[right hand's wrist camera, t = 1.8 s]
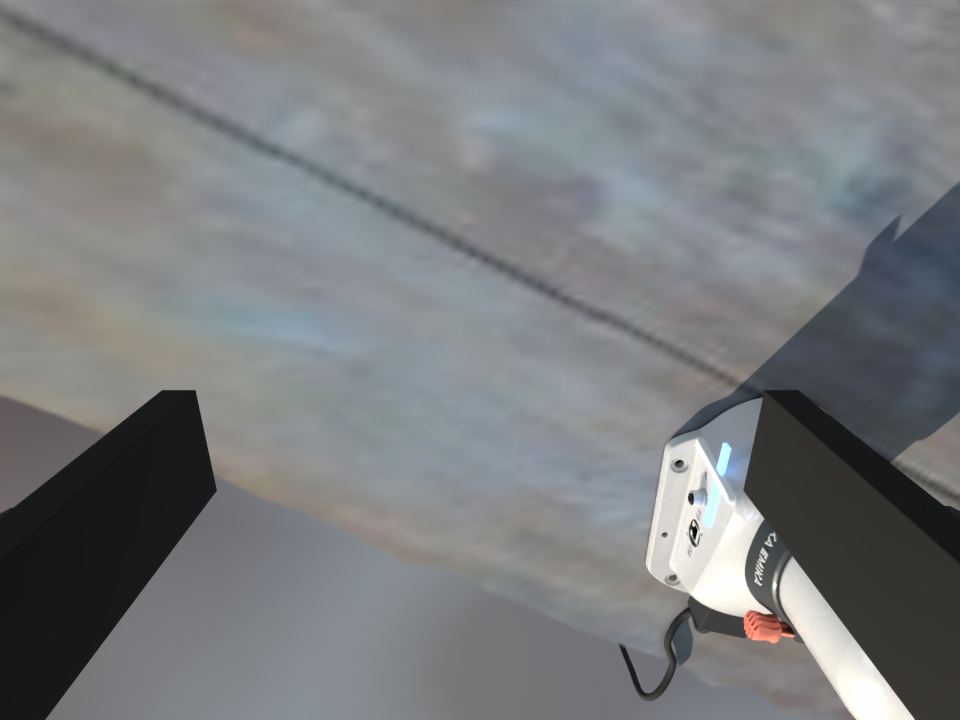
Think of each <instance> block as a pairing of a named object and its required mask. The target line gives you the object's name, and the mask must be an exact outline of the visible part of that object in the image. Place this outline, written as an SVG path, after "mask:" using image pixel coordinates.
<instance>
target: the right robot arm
mask: <svg viewBox="0 0 960 720" xmlns="http://www.w3.org/2000/svg"><path fill="white" fill-rule="evenodd" d="M216 491H217V489H216V485H215V480H214V475H213V470H212V466H211V461H210V456H209V452H208V447H207V442H206V438H205V433H204V428H203V424H202V419H201V414H200V410H199V405H198V400H197V395H196V391H195V390H162V391H161V392H159V393H158V394H157V395H156V396H154V397H153V398H152V399H150V400H149V401H148V402H147V403H145V404H144V405H143V406H142V407H140V408H139V409H138V410H137V411H135V412H134V413H133V414H132V415H130V416H129V417H128V418H126V419H125V420H124V421H123V422H121V423H120V424H119V425H118V426H116V427H115V428H114V429H113V430H111V431H110V432H109V433H107V434H106V435H105V436H104V437H102V438H101V439H100V440H99V441H97V442H96V443H95V444H94V445H92V446H91V447H90V448H88V449H87V450H86V451H85V452H83V453H82V454H81V455H80V456H78V457H77V458H76V459H75V460H73V461H72V462H71V463H70V464H68V465H67V466H66V467H64V468H63V469H62V470H61V471H59V472H58V473H57V474H56V475H54V476H53V477H52V478H51V479H49V480H48V481H47V482H45V483H44V484H43V485H42V486H40V487H39V488H38V489H37V490H35V491H34V492H33V493H32V494H30V495H29V496H28V497H26V498H25V499H24V500H23V501H21V502H20V503H19V504H18V505H16V506H15V507H14V508H10V509H8V510H6V511H4V512H2V513H0V720H45V719H46V718H47V717H48V715H49V714H50V713H51V711H52V710H53V709H54V707H55V706H56V705H57V703H58V702H59V701H60V699H61V698H62V697H63V695H64V694H65V693H66V691H67V690H68V689H69V687H70V686H71V685H72V683H73V682H74V681H75V679H76V678H77V677H78V675H79V674H80V673H81V671H82V670H83V669H84V667H85V666H86V664H87V663H88V662H89V660H90V659H91V658H92V657H93V655H94V654H95V652H96V651H97V650H98V648H99V647H100V646H101V644H102V643H103V642H104V641H105V639H106V638H107V637H108V635H109V634H110V633H111V631H112V630H113V628H114V627H115V626H116V624H117V623H118V622H119V620H120V619H121V618H122V616H123V615H124V614H125V612H126V611H127V610H128V608H129V607H130V606H131V604H132V603H133V602H134V600H135V599H136V598H137V596H138V595H139V594H140V592H141V591H142V590H143V588H144V587H145V586H146V584H147V583H148V582H149V580H150V579H151V578H152V576H153V575H154V574H155V572H156V571H157V570H158V568H159V567H160V566H161V564H162V563H163V562H164V560H165V559H166V558H167V556H168V555H169V554H170V552H171V551H172V550H173V548H174V547H175V546H176V544H177V543H178V542H179V540H180V539H181V538H182V536H183V535H184V534H185V532H186V531H187V530H188V528H189V527H190V526H191V524H192V523H193V522H194V520H195V519H196V518H197V516H198V515H199V514H200V512H201V511H202V510H203V508H204V507H205V506H206V504H207V503H208V502H209V500H210V499H211V498H212V496H213V495H214V494H215V492H216ZM743 491H744V492H745V494H746V495H747V496H748V498H749V499H750V500H751V502H752V503H753V504H754V506H755V507H756V508H757V510H758V511H759V512H760V514H761V515H762V516H763V518H764V519H765V520H766V522H767V523H768V524H769V526H770V527H771V528H772V530H773V531H774V532H775V534H776V535H777V536H778V538H779V539H780V540H781V542H782V543H783V544H784V546H785V547H786V548H787V550H788V551H789V552H790V554H791V555H792V556H793V558H794V559H795V560H796V562H797V563H798V564H799V566H800V567H801V568H802V570H803V571H804V572H805V574H806V575H807V576H808V578H809V579H810V580H811V582H812V583H813V584H814V586H815V587H816V588H817V590H818V591H819V592H820V594H821V595H822V596H823V598H824V599H825V600H826V602H827V603H828V604H829V606H830V607H831V608H832V610H833V611H834V612H835V614H836V615H837V616H838V618H839V619H840V620H841V622H842V623H843V624H844V626H845V627H846V629H847V630H848V631H849V633H850V634H851V635H852V637H853V638H854V639H855V641H856V642H857V643H858V645H859V646H860V647H861V649H862V650H863V651H864V653H865V654H866V655H867V657H868V658H869V659H870V661H871V662H872V663H873V665H874V666H875V667H876V669H877V670H878V671H879V673H880V674H881V675H882V677H883V678H884V679H885V681H886V682H887V683H888V685H889V686H890V687H891V689H892V690H893V691H894V693H895V694H896V695H897V697H898V698H899V699H900V701H901V702H902V703H903V705H904V706H905V707H906V709H907V710H908V711H909V713H910V714H911V715H912V717H913V718H914V719H915V720H960V511H959V510H957V509H955V508H953V507H951V506H944V505H942V504H941V503H940V502H939V501H937V500H936V499H935V498H934V497H932V496H931V495H930V494H928V493H927V492H926V491H925V490H923V489H922V488H921V487H920V486H918V485H917V484H916V483H915V482H913V481H912V480H911V479H909V478H908V477H907V476H906V475H904V474H903V473H902V472H901V471H899V470H898V469H897V468H896V467H894V466H893V465H892V464H891V463H889V462H888V461H887V460H885V459H884V458H883V457H882V456H880V455H879V454H878V453H877V452H875V451H874V450H873V449H872V448H870V447H869V446H868V445H866V444H865V443H864V442H863V441H861V440H860V439H859V438H858V437H856V436H855V435H854V434H853V433H851V432H850V431H849V430H847V429H846V428H845V427H844V426H842V425H841V424H840V423H839V422H837V421H836V420H835V419H834V418H832V417H831V416H830V415H828V414H827V413H826V412H825V411H823V410H822V409H821V408H820V407H818V406H817V405H816V404H815V403H813V402H812V401H811V400H810V399H808V398H807V397H806V396H804V395H803V394H802V393H801V392H799V391H798V390H765V391H764V395H763V400H762V405H761V409H760V414H759V419H758V424H757V428H756V433H755V438H754V442H753V447H752V452H751V456H750V461H749V466H748V470H747V475H746V480H745V484H744V489H743Z"/></svg>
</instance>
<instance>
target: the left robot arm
mask: <svg viewBox="0 0 960 720" xmlns="http://www.w3.org/2000/svg"><path fill="white" fill-rule="evenodd" d="M762 400H763V397H762V398H757V399H753V400H750V401H747V402H744V403H741V404H739V405H737V406H734V407H732V408H730V409H729V410H727V411H725V412H724V413H722V414H721V415H719V416H718V417H716V418H715V419H714V420H712V421H711V422H710V423H708V424H707V425H705V426H704V427H702V428H700V429H698V430H695V431H691V432H688V433H685V434H682V435H679V436H677V437H675V438H673V439H671V440H670V441H669V442H668V443H667V445H666V447H665V451H664V457H663V463H662V468H661V474H660V480H659V486H658V492H657V498H656V503H655V509H654V515H653V521H652V527H651V533H650V538H649V544H648V550H647V556H646V566H647V568H648V570H649V572H650V573H651V574H652V575H653V576H654V577H656V578H657V579H658V580H660V581H661V582H663V583H664V584H666V585H668V586H670V587H672V588H675V589H678V590H680V591H684V592H687V593H689V594H690V595H691V596H690V598H689V600H688V605H689V607H690V609H687V610H684V611H683V612H682V613H681V614H679V615H678V616H677V617H676V618H675V619H674V621H673V622H672V624H671V625H670V627H669V629H668V631H667V633H666V636H665V640H664V646H665V650H666V653H667V655H668V658H669V662H670V663H669V667H668V670H667V672H666V674H665V676H664V678H663V680H662V682H661V684H660V685H659V686H658V688H657V689H656V690H655V691H654V692H652V693H650V694H647V693H645V692H644V691H643V690H642V688H641V686H640V683H639V681H638V678H637V675H636V672H635V669H634V667H633V665H632V662H631V660H630V657H629V655H628V652H627V650H626V647H625V646H624V645H622V644H619V643H618V644H619V647H620V649H621V652H622V655H623V657H624V660H625V662H626V665H627V667H628V670H629V672H630V675H631V678H632V681H633V684H634V687H635V689H636V691H637V693H638V695H639V696H640V697H641V698H642V699H644V700H646V701H652V700H655V699H657V698H658V697H659V696H661V695H662V693H663V692H664V691H665V690H666V688H667V687H668V685H669V683H670V681H671V679H672V677H673V674H674V672H675V668H676V658H675V655H674V652H673V650H672V647H671V642H672V639H673V636H674V634H675V632H676V630H677V629H678V627H679V626H680V624H681V623H682V622H683V621H684V620H685V619H686V618H688V617H690V616H692V619H693V623H694V627H695V629H696V630H697V631H698V632H700V633H708V632H710V631H712V632H717V633H722V634H726V635H731V636H736V637H740V638H745V637H746V636H747V635H749V638H750V639H753V640H768V641H769V642H772V643H776V642H778V641H779V639H780V637H781V635H782V636H788V637H793V639H794V640H795V641H796V642H799V643H804V644H806V645H807V647H808V648H809V650H810V651H811V653H812V655H813V656H814V658H815V659H816V661H817V662H818V664H819V665H820V667H821V668H822V670H823V672H824V673H825V675H826V676H827V678H828V679H829V681H830V682H831V684H832V685H833V687H834V689H835V690H836V692H837V693H838V695H839V696H840V698H841V699H842V701H843V703H844V704H845V706H846V707H847V709H848V710H849V711H850V713H851V714H852V715H853V716H854V717H855V719H856V720H915V719H914V718H913V717H912V715H911V714H910V713H909V711H908V710H907V709H906V707H905V706H904V705H903V703H902V702H901V701H900V699H899V698H898V697H897V695H896V694H895V693H894V691H893V690H892V689H891V687H890V686H889V685H888V683H887V682H886V681H885V679H884V678H883V677H882V675H881V674H880V673H879V671H878V670H877V669H876V667H875V666H874V665H873V663H872V662H871V661H870V659H869V658H868V657H867V655H866V654H865V653H864V651H863V650H862V649H861V647H860V646H859V645H858V643H857V642H856V641H855V639H854V638H853V637H852V635H851V634H850V633H849V631H848V630H847V629H846V627H845V626H844V624H843V623H842V622H841V620H840V619H839V618H838V616H837V615H836V614H835V612H834V611H833V610H832V608H831V607H830V606H829V604H828V603H827V602H826V600H825V599H824V598H823V596H822V595H821V594H820V592H819V591H818V590H817V588H816V587H815V586H814V584H813V583H812V582H811V580H810V579H809V578H808V576H807V575H806V574H805V572H804V571H803V570H802V568H801V567H800V566H799V564H798V563H797V562H796V560H795V559H794V558H793V556H792V555H791V554H790V552H789V551H788V550H787V548H786V547H785V546H784V544H783V543H782V542H781V540H780V539H779V538H778V536H777V535H776V534H775V532H774V531H773V530H772V528H771V527H770V526H769V524H768V523H767V522H766V520H765V519H764V518H763V516H762V515H761V514H760V512H759V511H758V510H757V508H756V507H755V506H754V504H753V503H752V502H751V500H750V499H749V498H748V496H747V495H746V494H745V492H744V491H743V489H744V484H745V480H746V475H747V470H748V466H749V461H750V456H751V452H752V447H753V442H754V438H755V433H756V428H757V424H758V419H759V414H760V409H761V405H762ZM817 406H818V405H817ZM818 407H819V406H818ZM820 408H821V407H820ZM821 409H822V408H821ZM822 410H823V411H825V410H824V409H822ZM825 412H826V411H825ZM826 413H827V412H826ZM827 414H828V413H827ZM828 415H829V414H828ZM677 460H681V462H680V463H677V464H675V462H676V461H677ZM671 575H673V576H671ZM779 620H782V621H783V622H780V621H779Z"/></svg>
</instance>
